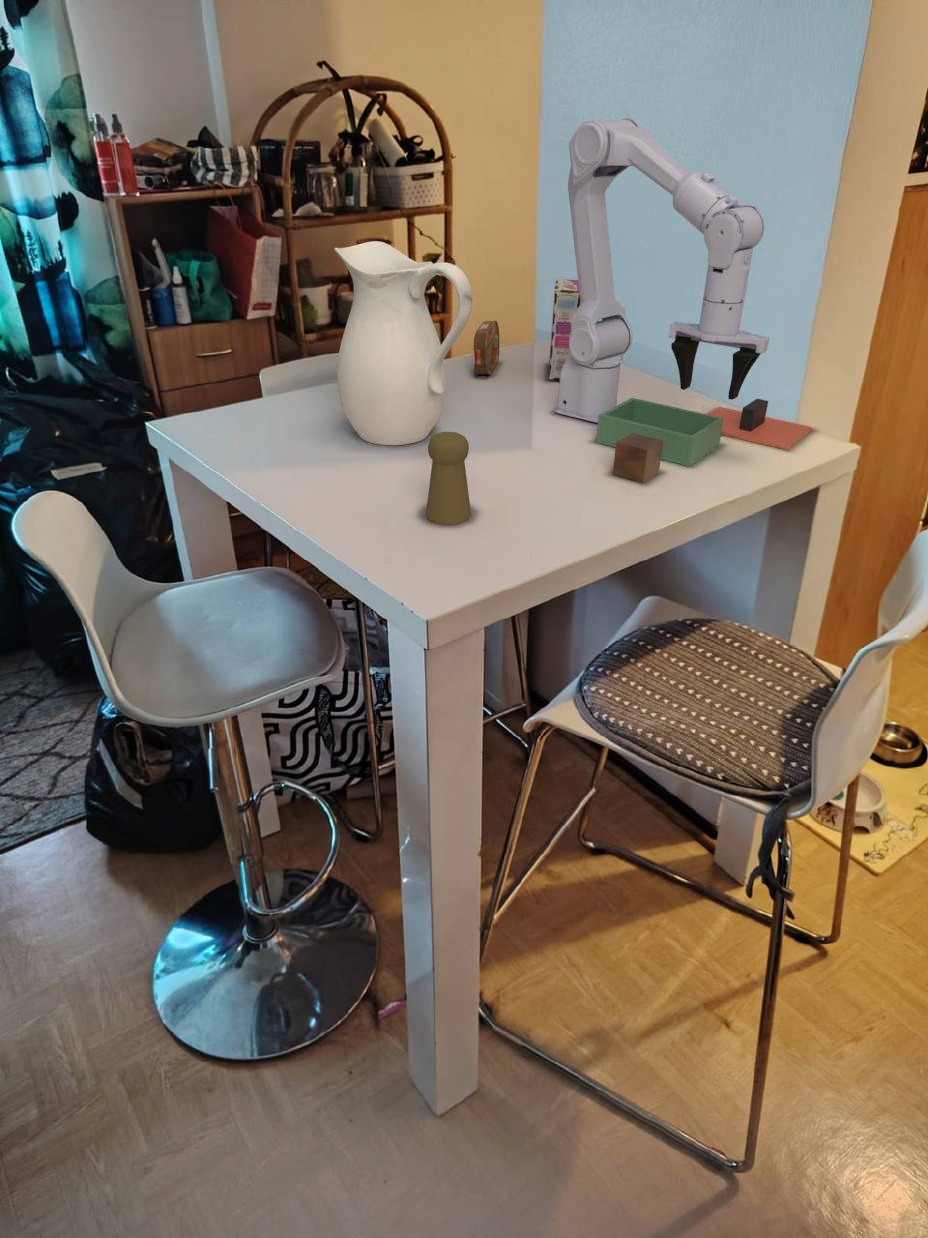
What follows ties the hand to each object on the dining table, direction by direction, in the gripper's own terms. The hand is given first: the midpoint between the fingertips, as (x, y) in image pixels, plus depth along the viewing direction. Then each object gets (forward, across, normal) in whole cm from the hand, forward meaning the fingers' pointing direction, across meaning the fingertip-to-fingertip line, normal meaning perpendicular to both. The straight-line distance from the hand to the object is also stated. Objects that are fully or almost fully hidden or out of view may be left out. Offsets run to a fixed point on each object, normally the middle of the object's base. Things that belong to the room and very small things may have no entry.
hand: (708, 392), depth 135 cm
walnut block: (+9, -3, -15) cm, 18 cm away
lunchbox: (+9, -6, -2) cm, 11 cm away
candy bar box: (+9, -38, +21) cm, 44 cm away
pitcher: (+9, -38, -25) cm, 47 cm away
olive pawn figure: (+9, -17, -43) cm, 47 cm away
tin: (+9, -51, +14) cm, 54 cm away
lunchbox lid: (+9, +3, +14) cm, 17 cm away
